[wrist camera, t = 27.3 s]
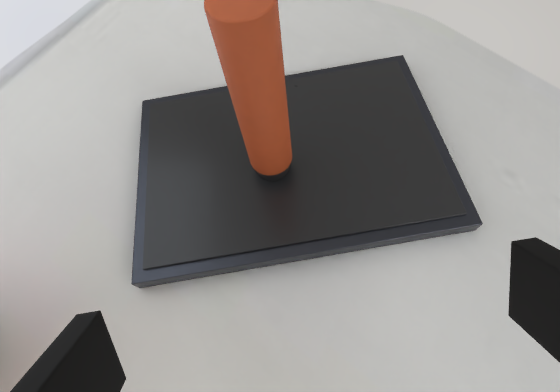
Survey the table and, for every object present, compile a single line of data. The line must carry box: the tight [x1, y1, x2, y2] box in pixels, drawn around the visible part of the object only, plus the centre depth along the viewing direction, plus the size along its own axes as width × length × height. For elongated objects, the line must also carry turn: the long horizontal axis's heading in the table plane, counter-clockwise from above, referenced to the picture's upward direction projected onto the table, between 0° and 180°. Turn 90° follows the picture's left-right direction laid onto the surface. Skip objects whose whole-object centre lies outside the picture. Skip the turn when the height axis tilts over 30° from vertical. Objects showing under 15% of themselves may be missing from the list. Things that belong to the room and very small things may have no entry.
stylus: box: [204, 0, 292, 181], centre depth 17 cm, size 3×3×11 cm
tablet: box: [132, 55, 482, 288], centre depth 22 cm, size 20×14×1 cm
